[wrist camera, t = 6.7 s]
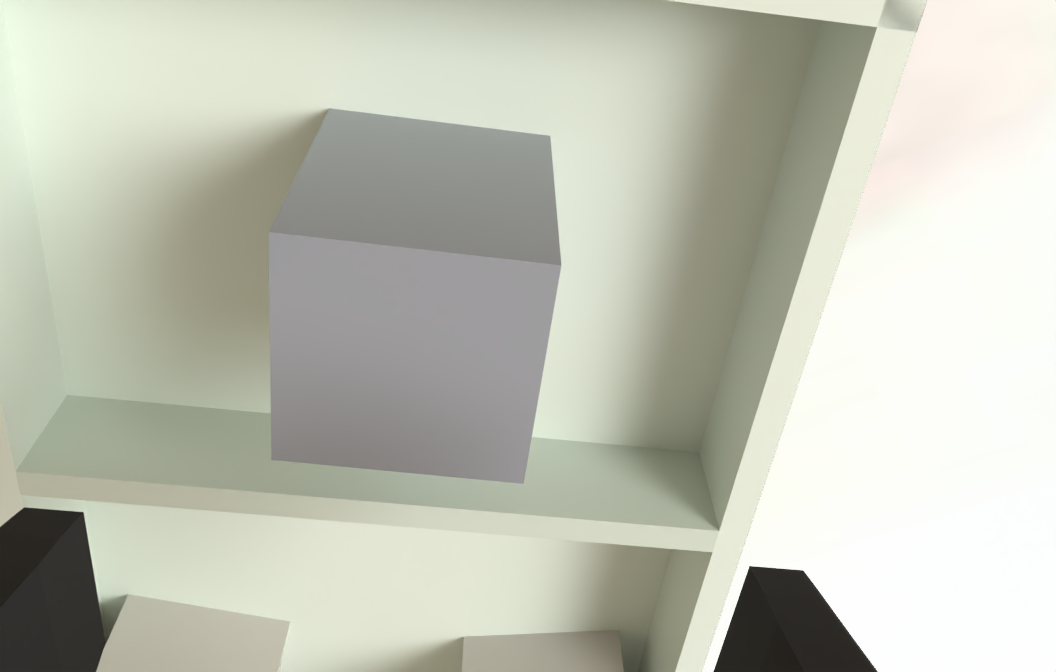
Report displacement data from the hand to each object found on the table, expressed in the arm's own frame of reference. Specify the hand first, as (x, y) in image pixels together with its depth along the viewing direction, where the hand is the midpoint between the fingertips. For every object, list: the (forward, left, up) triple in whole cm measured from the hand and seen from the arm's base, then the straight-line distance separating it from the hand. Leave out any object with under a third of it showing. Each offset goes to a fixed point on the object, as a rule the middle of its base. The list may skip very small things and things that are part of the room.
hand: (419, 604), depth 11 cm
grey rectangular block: (0, +1, -9) cm, 9 cm away
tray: (-5, +1, -10) cm, 11 cm away
